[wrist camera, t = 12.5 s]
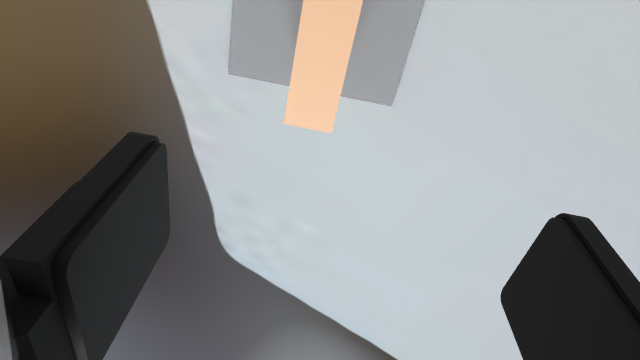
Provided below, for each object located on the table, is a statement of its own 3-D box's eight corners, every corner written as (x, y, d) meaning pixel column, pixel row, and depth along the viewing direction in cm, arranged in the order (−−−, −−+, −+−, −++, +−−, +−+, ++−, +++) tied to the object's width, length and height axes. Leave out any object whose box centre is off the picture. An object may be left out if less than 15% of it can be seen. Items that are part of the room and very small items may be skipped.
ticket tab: (357, -29, 28) (364, -6, 20) (333, 77, 33) (331, 133, 24) (316, -39, 28) (306, -19, 20) (298, 70, 33) (283, 123, 24)
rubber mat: (435, -38, 28) (436, -37, 28) (390, 104, 34) (391, 106, 34) (239, -82, 27) (237, -82, 27) (229, 72, 33) (228, 74, 33)
